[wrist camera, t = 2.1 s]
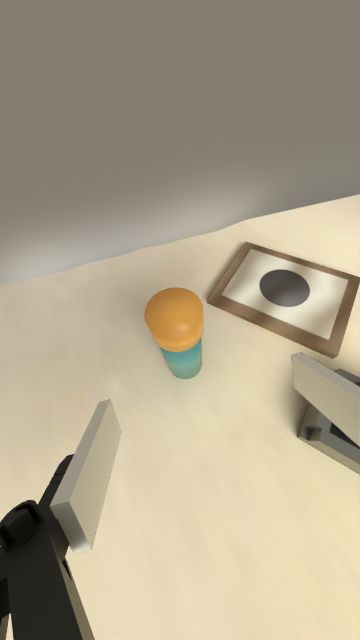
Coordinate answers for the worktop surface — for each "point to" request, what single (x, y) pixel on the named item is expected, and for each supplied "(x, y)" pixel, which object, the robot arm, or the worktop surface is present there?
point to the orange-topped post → (177, 329)
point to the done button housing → (330, 434)
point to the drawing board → (288, 297)
